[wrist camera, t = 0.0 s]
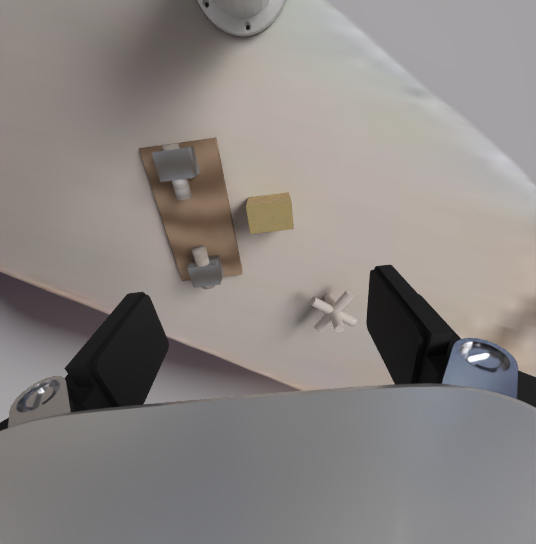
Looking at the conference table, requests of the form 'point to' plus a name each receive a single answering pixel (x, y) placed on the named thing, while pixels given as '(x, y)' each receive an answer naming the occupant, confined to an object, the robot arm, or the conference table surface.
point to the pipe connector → (333, 312)
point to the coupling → (269, 213)
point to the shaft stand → (194, 209)
